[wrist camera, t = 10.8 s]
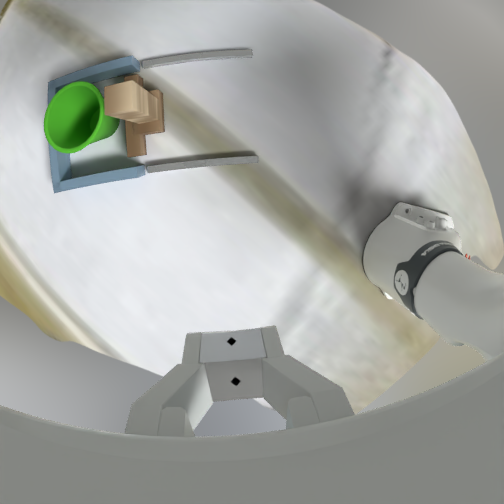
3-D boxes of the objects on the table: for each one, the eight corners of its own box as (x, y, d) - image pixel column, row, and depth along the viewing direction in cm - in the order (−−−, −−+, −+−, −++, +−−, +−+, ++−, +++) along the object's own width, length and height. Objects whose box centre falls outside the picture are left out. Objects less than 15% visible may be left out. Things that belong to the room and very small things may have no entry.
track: (251, 52, 34) (252, 49, 33) (257, 162, 40) (258, 162, 39) (144, 63, 33) (142, 61, 32) (149, 172, 39) (147, 173, 38)
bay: (139, 62, 33) (132, 55, 29) (145, 174, 39) (137, 177, 35) (60, 85, 31) (48, 82, 28) (66, 188, 38) (53, 193, 34)
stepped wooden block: (162, 75, 34) (133, 41, 20) (166, 151, 38) (135, 153, 24) (130, 81, 33) (88, 53, 19) (134, 156, 37) (90, 162, 23)
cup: (123, 84, 33) (94, 67, 23) (139, 136, 37) (111, 133, 27) (75, 110, 34) (37, 104, 23) (89, 160, 37) (53, 166, 27)
